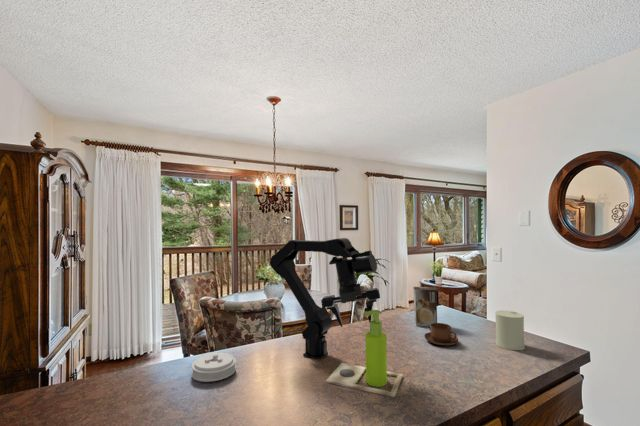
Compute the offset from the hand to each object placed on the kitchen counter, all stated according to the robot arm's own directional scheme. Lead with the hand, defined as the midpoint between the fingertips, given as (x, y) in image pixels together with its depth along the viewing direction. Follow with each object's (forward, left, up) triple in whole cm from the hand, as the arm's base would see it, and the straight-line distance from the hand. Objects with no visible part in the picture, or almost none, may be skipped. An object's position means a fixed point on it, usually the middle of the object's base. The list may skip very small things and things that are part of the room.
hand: (355, 324), depth 103 cm
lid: (-37, -23, -13) cm, 46 cm away
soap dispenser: (+8, -9, -13) cm, 18 cm away
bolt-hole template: (+5, -8, -13) cm, 16 cm away
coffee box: (+16, +51, -13) cm, 54 cm away
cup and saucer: (+24, +31, -13) cm, 41 cm away
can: (+47, +38, -13) cm, 61 cm away
